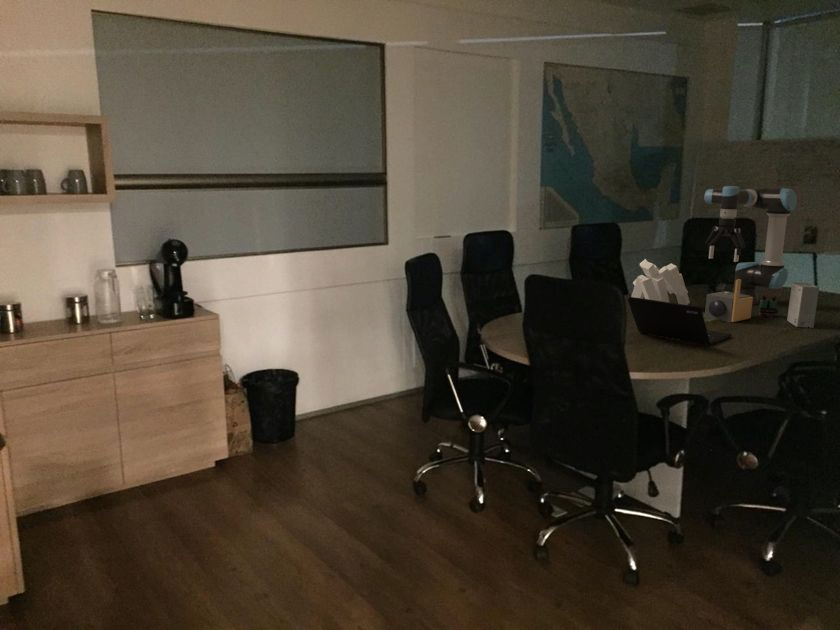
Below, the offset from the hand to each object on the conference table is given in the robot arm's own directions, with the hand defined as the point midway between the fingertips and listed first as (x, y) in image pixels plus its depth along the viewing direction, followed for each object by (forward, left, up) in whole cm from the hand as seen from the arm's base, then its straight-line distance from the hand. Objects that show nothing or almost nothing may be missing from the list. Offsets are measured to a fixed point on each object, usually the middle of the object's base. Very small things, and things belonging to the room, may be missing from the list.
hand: (723, 260), depth 336 cm
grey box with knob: (-2, +4, -29) cm, 30 cm away
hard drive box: (-20, +32, -30) cm, 48 cm away
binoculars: (-24, +14, -30) cm, 40 cm away
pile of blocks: (+8, -29, -30) cm, 42 cm away
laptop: (+55, +15, -30) cm, 65 cm away
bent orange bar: (-2, +12, -29) cm, 31 cm away
